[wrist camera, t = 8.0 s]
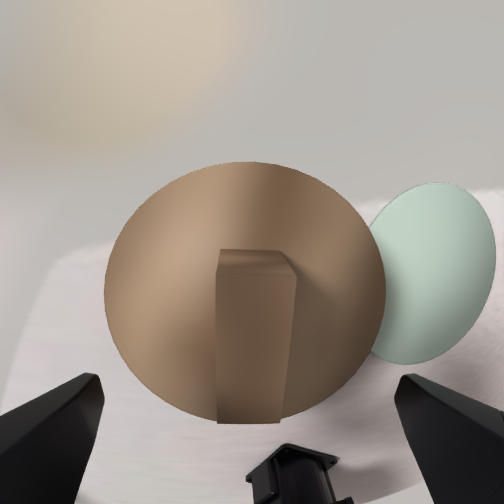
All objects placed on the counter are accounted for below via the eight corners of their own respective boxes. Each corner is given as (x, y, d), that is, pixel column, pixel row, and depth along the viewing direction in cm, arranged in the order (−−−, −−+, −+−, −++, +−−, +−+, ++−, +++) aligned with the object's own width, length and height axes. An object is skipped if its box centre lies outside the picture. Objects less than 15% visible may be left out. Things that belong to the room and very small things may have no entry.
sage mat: (510, 249, 20) (514, 251, 19) (427, 381, 22) (429, 384, 22) (419, 141, 17) (423, 140, 17) (308, 315, 20) (309, 319, 19)
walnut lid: (392, 176, 13) (449, 178, 9) (352, 407, 16) (377, 457, 12) (105, 163, 12) (54, 159, 8) (129, 405, 15) (108, 458, 11)
